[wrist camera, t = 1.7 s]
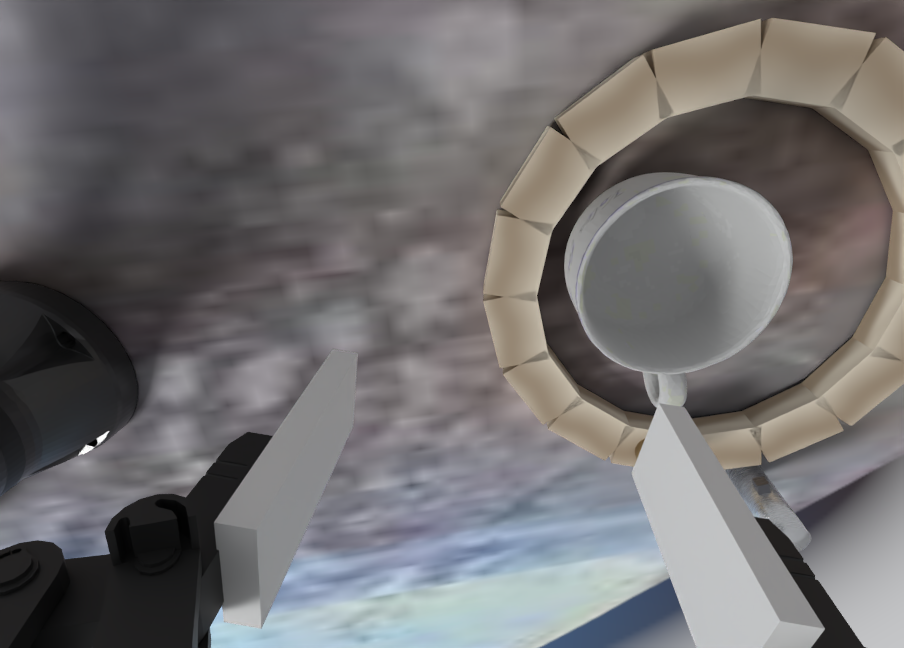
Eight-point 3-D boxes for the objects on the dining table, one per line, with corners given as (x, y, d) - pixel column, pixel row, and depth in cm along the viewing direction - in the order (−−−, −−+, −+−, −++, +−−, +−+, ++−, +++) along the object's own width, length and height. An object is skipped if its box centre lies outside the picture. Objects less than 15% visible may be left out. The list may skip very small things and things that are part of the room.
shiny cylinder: (719, 476, 38) (763, 549, 32) (734, 446, 37) (783, 516, 31) (750, 482, 38) (801, 556, 32) (766, 452, 37) (822, 522, 31)
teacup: (570, 156, 29) (594, 172, 22) (749, 166, 29) (834, 185, 22) (542, 353, 35) (555, 416, 28) (691, 365, 35) (743, 432, 27)
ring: (459, 421, 38) (453, 473, 33) (535, -8, 26) (546, -40, 20) (820, 481, 37) (875, 545, 32) (1071, 71, 25) (1230, 61, 20)
